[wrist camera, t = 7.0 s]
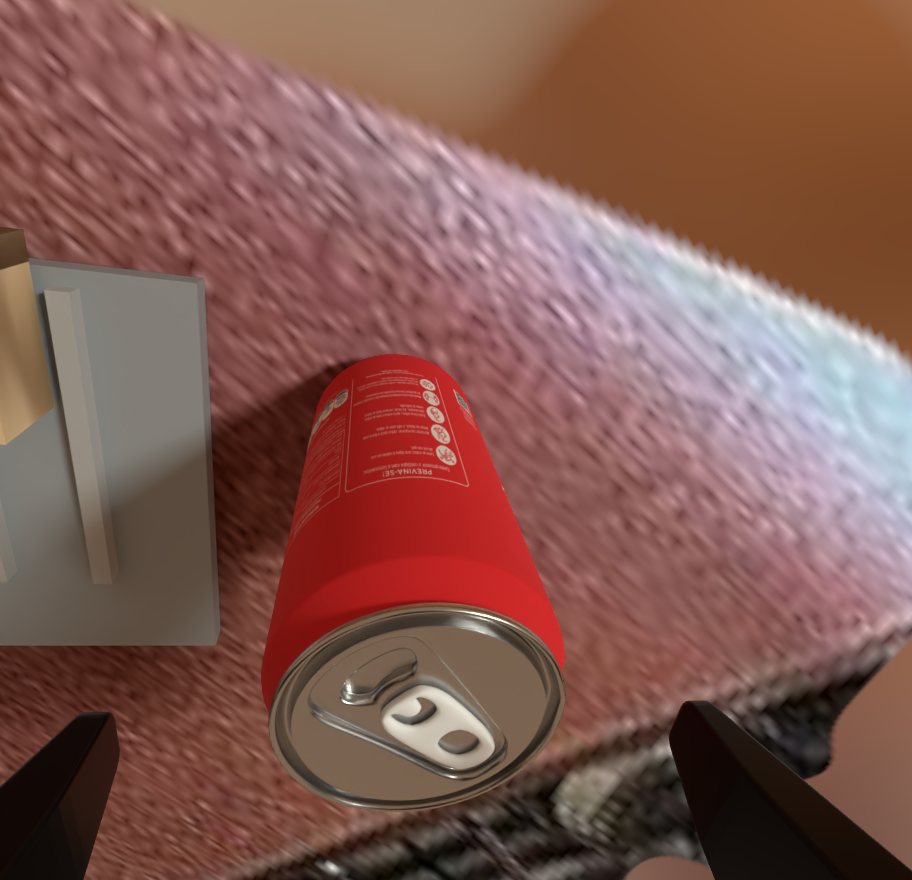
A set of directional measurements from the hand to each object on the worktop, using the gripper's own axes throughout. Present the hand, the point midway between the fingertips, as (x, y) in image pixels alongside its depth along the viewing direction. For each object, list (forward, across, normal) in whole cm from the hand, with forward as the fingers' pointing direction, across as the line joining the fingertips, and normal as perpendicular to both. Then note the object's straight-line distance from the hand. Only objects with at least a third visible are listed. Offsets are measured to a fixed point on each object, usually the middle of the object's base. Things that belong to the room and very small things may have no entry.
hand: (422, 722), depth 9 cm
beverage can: (+12, 0, 0) cm, 12 cm away
